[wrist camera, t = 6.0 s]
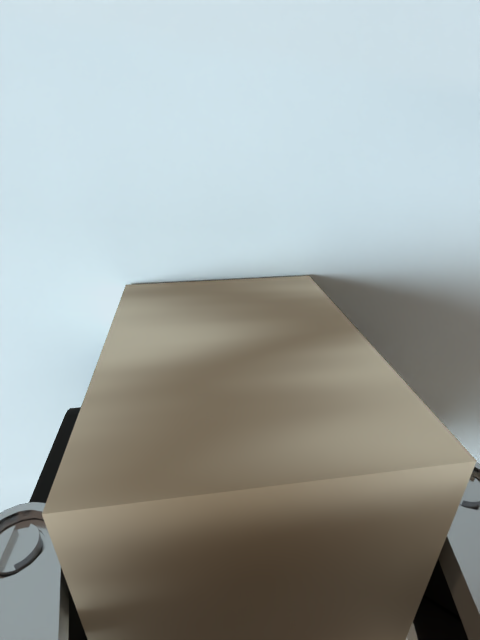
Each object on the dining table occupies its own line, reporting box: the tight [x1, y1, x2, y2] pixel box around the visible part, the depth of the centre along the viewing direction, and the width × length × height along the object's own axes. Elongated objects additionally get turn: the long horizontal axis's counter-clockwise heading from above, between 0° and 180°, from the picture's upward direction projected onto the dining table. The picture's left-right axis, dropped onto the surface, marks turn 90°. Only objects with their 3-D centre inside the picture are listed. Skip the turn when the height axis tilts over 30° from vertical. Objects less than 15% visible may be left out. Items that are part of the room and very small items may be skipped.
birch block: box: [42, 276, 476, 640], centre depth 8 cm, size 4×6×6 cm
